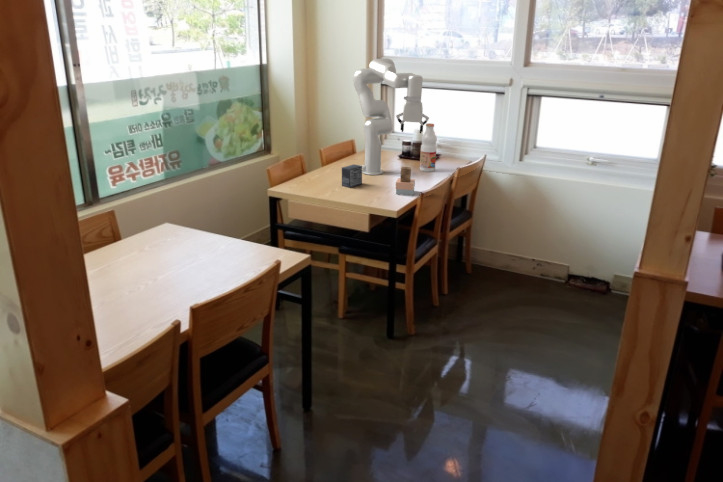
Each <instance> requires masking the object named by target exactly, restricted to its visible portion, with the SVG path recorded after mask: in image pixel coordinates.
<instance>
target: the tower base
mask: <svg viewBox="0 0 723 482" xmlns="http://www.w3.org/2000/svg"><path fill="white" fill-rule="evenodd" d="M395 191H396V192H395V195H396V194H403V195H402V196H411V195H413V196H414V192H415V188H414V189H413V190H404V189H396V188H395Z"/></svg>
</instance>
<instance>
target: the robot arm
mask: <svg viewBox="0 0 723 482" xmlns="http://www.w3.org/2000/svg"><path fill="white" fill-rule="evenodd" d="M352 78H353V79H352V81H353V86H354V88H355V91H356V93H357V96H358V99H359V103H360V108H361V113H362V114H363V116H364V117H366V118H370V119H367V120H366V121H364V123H363V133H364V164H362V165H360V164H359V165H360V166H362V175H369V176H381V175H382V174H383V173H384V170H382V169H381V165H382V161H381V160H382V141H381V139H380V137H379V136H382V135H388V134H391V132H392V131H393V127H394V126H393V121H392V116H391V111H390V109H389V106H388V103H387V102H386V101H385V100H383V99H375V96H374V92H373V91H372V89H371V88H370V87H369V86H368V85H371V84H372V85H373V84H380V83H382V82H384V84H385V85H387V86H389V87H391V88H394V89H406V96H404V97H403V99H404V100H405V101H404V105H403V112H400V113H398V114H396V115H395V116H396V119H397V121H398V122H399V124H400V131H401V133H404V128H405V122H408V123H419V124H420V126H419V134H422V132H423V131H424V126H425V125H426V124H428V123H427V122H428V121H429V119H430V117H429V116H428V115H425V114H424V113H423V102H422V92H423V76H422V75H419V74H414V73H413V72H398V73H397V68H396V66H395V63H394V61H393V59H390V58H388V57H387V58H374V59H373V60H371V61H370V62H369V65H368V68H367V67H366V68H361V69H357V70H356V71H355V72H354V74H353V77H352ZM377 117H378V118H377ZM401 117H402V119H401ZM423 118H424V119H425V120H424V121H423Z"/></svg>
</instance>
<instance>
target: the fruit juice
mask: <svg viewBox="0 0 723 482" xmlns="http://www.w3.org/2000/svg"><path fill="white" fill-rule="evenodd" d="M434 127H435V124H434V123H426V124H425V131H424V133H423V135H422V136H421V145H420V153H419V154H420V155H419V156H420V157H419V171H421V172H424V173H433V172H435V170H436V164H437V163H436V161H437V160H436V159H437V144H436V143H437V135H436V134H435V131H434Z"/></svg>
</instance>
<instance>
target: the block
mask: <svg viewBox="0 0 723 482" xmlns="http://www.w3.org/2000/svg"><path fill="white" fill-rule="evenodd" d="M411 176H412V166H401V167H400V178H401V180H400V182H410V180H411V179H412V177H411Z"/></svg>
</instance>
